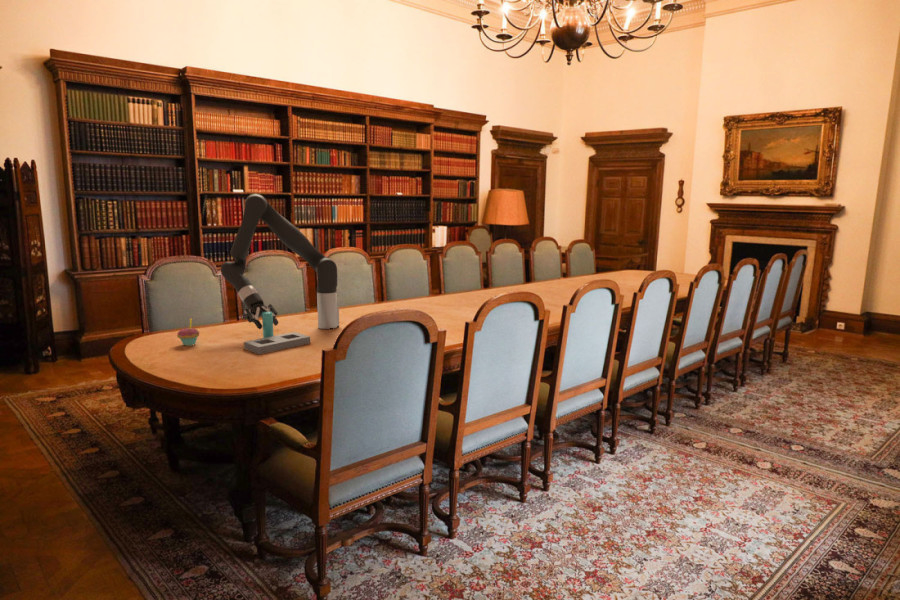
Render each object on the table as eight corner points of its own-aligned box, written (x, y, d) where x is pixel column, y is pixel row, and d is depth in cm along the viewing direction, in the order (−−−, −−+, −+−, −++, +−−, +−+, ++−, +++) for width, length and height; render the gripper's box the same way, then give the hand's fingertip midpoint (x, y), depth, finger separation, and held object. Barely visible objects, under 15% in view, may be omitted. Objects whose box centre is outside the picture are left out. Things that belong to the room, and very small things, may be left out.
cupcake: (203, 342, 248) (201, 315, 245) (193, 347, 239) (191, 319, 237) (184, 341, 248) (182, 314, 246) (173, 346, 240) (171, 318, 238)
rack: (295, 338, 255) (294, 331, 254) (310, 343, 247) (310, 336, 246) (244, 348, 238) (243, 341, 237) (258, 354, 230) (258, 347, 229)
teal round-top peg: (270, 337, 256) (269, 311, 254) (275, 339, 253) (274, 312, 251) (261, 339, 253) (259, 312, 251) (266, 341, 250) (265, 314, 248)
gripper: (240, 294, 248) (259, 324, 244) (267, 290, 260) (285, 318, 256) (233, 305, 252) (252, 334, 248) (260, 300, 263) (278, 328, 259)
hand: (269, 326), depth 252 cm, fingers open, 8 cm apart
